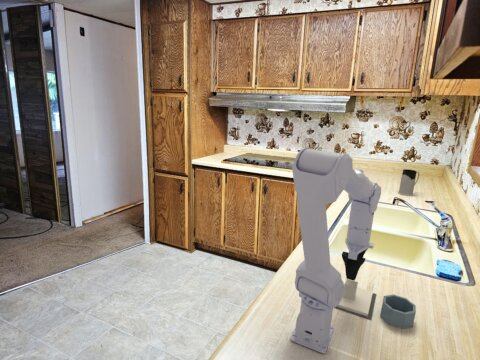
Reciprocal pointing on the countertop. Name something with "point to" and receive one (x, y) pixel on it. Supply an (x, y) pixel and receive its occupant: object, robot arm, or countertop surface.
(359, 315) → the mat
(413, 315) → the bowl
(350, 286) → the cover
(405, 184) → the gray black pitcher
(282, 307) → the countertop surface
